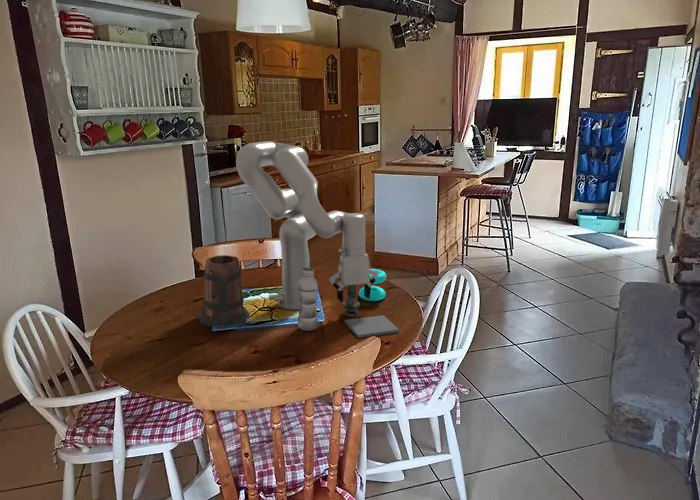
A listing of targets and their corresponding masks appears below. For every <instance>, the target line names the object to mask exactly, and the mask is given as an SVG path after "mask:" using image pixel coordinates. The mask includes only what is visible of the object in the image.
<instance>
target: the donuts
mask: <svg viewBox="0 0 700 500" xmlns="http://www.w3.org/2000/svg"><path fill="white" fill-rule="evenodd" d="M370 270H372V271H374V272H376V273H378V276H377V278H376V279H375V282H374V283H373V284H372V287H371V294H370V297H369V298H367V297H365V296H364V286H363V287H362V288H360V290H359V291H358V295H359V298H361V299H362V300H364V301H369V302H378V301H382V300H383V299H385V297H386V296H387V295H386V294H387V293H386V291H385V290H384V289H383V288H382V287H380V286H377V284H382V283H384V282H385V281H386V279H387V274H386V272H385V271H383V270H381V269H378V268H377V269H376V268H370ZM371 277H372V275H371V274H370V278H371Z"/></svg>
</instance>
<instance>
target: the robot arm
mask: <svg viewBox="0 0 700 500" xmlns="http://www.w3.org/2000/svg"><path fill="white" fill-rule="evenodd" d="M308 164H309V155H308V153H307V152H306V150H305V149H303V148H302V147H300V146H298V145H293V144H286V143H280V142H276V141H269V140H267V141H265V140H263V141H257V142H256V141H255V142H249V143H246V144H245V145H243V146H242V147H241V148H240V149H239V151H238V152H237V155H236V159H235V166H236V171H237V173H238V175H239V178H240V179H241V180H242V181H243V183H244V184H245V185H246V186H247V187H248V189H249V190H250V191H251V193H252V194H253V195H254V198H256V200H257V201H258V203H259V204H260V205H261V207H262V208H263V210H264V211H265V212H266V214H267V215H268V216H269V217H270V218H271V219H274V220H281V219H283V218H287V219H286V220H284V221H283V222H282V224H281V225H280V228H279V233H278V235H279V236H278V237H279V240H280V248H281V279H282V280H281V282H282V283H281V285H282V286H281V287H282V288H281V289H282V290H279V292H277V294H268V300H269V301H274V303H275V302H277V305H278V306H279V307H280V308H282V309H285V310H292V311H294V310H295V311H297V310H298V309H299V306H300V304H299V293H298V283H299V281H300V279H301V278H302V277H303V276H302V269H303V268H310V252H309V247H308V241H309V240H311V239H312V238H314V237H315V236H316V235H317V236H319V237H321V238H323V239H328V238H331V237H333V236H335V235H336V234H340V233H342V245H341V248H338V253H340V254H341V255H340V257H339V263H338V271H337V272H336V273H335V274H333V275H331V276H330V277H329V278H328V280H329V282H330V283H331V285H332V287H334V288H335V289H336V299H337V300H338V301H339V302H340V303H344V291H343V288H344V287H345V286H346V287H348V286H350V285H356V286H357V285H363V287H364V296H365V297H367V298H369V297H370V294H371V287H372V286H373V285H374V284H373V283H374V282H375V279H376V278H377V276H378V273H376V272H374V271H372V270H370V269H371V268H370V267H371V266H370V260H369V259H370V258H369V255H368V253H366V216H365V215H364V214H362V213H358V212H357V213H356V212H352V213H349V212H345V211H341V210H332V211H328V212H326V210H325V209H324V208H323V206H322V205H321V203H320V201H319V198H318V186H319V181H318V180H317V178H316V177H315V176H314V174H313V173H312V172H311V171H310V169H309V167H307V166H308ZM267 166H273V167H275V168H276V170H277V171H278V172H279V174H280V175H281V177H282V178H283V179H284V181H285V182H286V183H287V185H288V186H289V187H290V188H280V186H278V185H279V184H277V183H276V182H275V180H274V179H273V177H272V176H271V175H270V174H269V173H268V172H266V171H265V170H264V169H263V168H264V167H267ZM370 274H371V275H372V277H371V278H370ZM337 279H338V282H336V280H337ZM298 311H299V310H298Z"/></svg>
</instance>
